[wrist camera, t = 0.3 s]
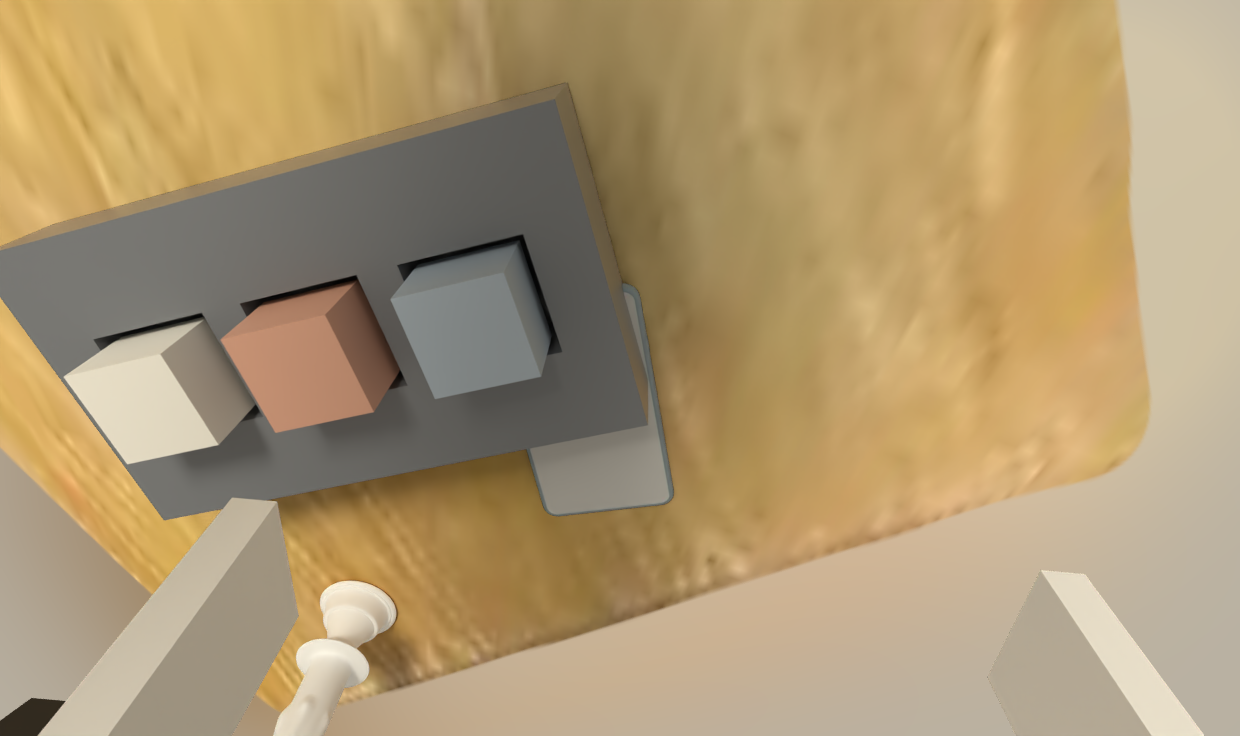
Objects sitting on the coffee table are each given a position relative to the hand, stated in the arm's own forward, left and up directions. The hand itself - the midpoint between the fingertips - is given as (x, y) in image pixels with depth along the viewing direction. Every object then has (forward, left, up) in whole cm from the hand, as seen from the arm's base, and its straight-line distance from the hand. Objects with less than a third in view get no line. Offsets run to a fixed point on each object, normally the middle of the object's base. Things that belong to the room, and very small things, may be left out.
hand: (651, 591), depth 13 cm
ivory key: (+2, -24, -22) cm, 33 cm away
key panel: (+2, -16, -26) cm, 31 cm away
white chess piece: (+23, -27, -26) cm, 44 cm away
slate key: (+2, -8, -22) cm, 23 cm away
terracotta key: (+2, -16, -22) cm, 27 cm away
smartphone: (+11, -6, -26) cm, 29 cm away
